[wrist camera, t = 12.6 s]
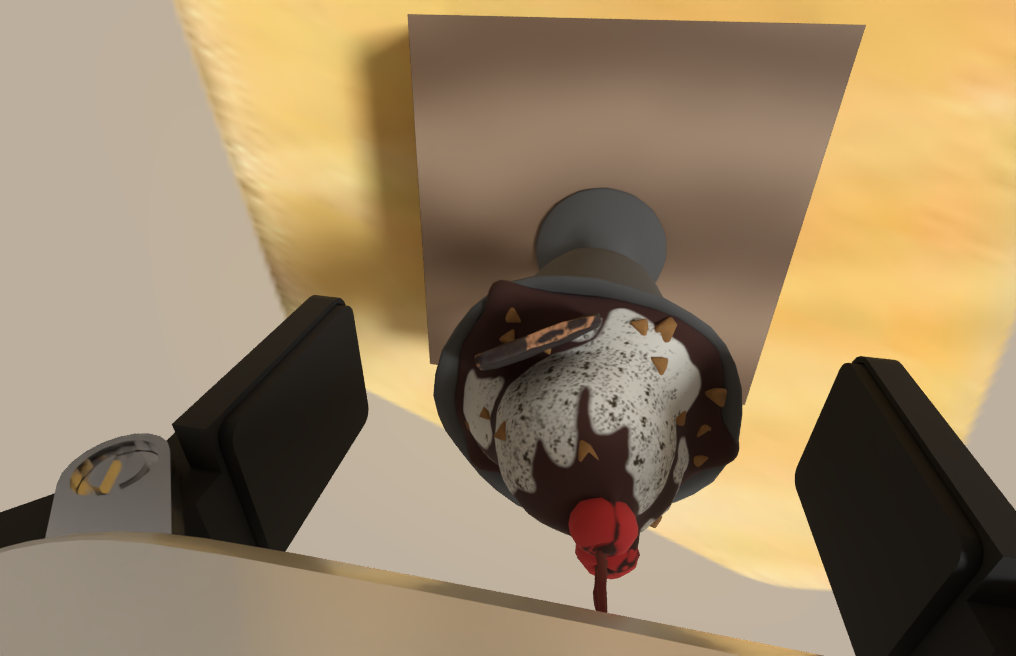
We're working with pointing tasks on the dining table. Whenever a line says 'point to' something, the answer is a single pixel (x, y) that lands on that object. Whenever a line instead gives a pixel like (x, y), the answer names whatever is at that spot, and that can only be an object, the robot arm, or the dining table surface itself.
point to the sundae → (591, 385)
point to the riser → (624, 150)
